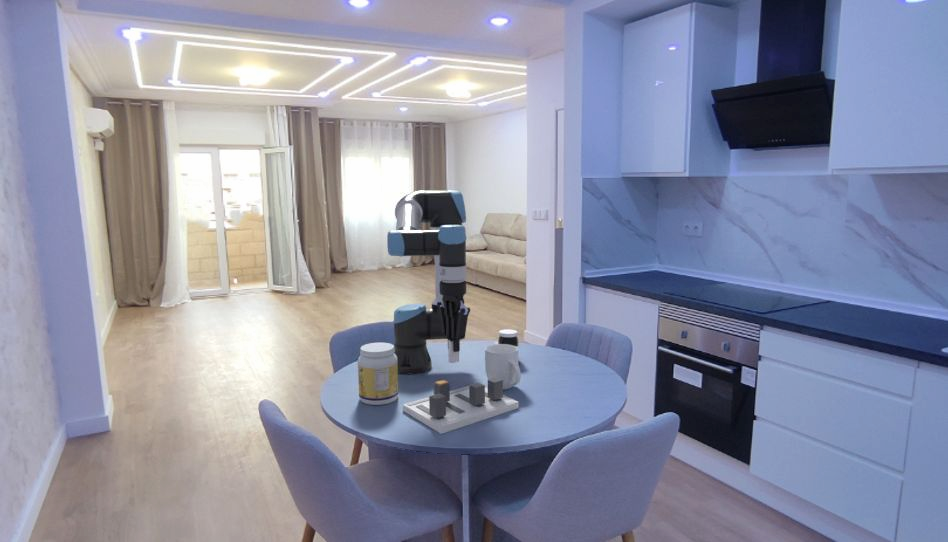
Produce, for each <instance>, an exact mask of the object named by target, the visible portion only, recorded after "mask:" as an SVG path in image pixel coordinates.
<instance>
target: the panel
mask: <svg viewBox="0 0 948 542" xmlns="http://www.w3.org/2000/svg"><path fill="white" fill-rule="evenodd" d="M517 409H519V401H517V400H516V399H513V398H511V397H508V396H507V395H505V394H503V398H500V399H497V400H492V399H490V398H488V387H486V386H485V403H484V404H481V405H477V406H475V405H473V404H470V403H469V385H467V386H463V387H460V388H457V389H453V390H450V401H447V402H446V415H445V416H442V417H439V418H434V417H432V416H430V408H429V397H425V398H421V399H418V400H415V401H414V400H413V401H410V402H407V403H403V404H402V411H403V412H405V414H408V415H409V416H410V417H412V418H414V419H416V421H417V420H418V421H420V422H421V423H422V424H424V425H426V426H428V427H429V428H430V429H432V430H434V431H436V432H437V433H439V434H440V435H441V434H446V433H448V432H453V431H454V430H457V429H461V428H463V427H467V426H469V425H472V424H476V423H478V422H481V421H484V420H488V419H489V418H494V417H496V416H499V415H502V414H505V413H508V412H512V411H513V410H514V411H515V410H517Z"/></svg>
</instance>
